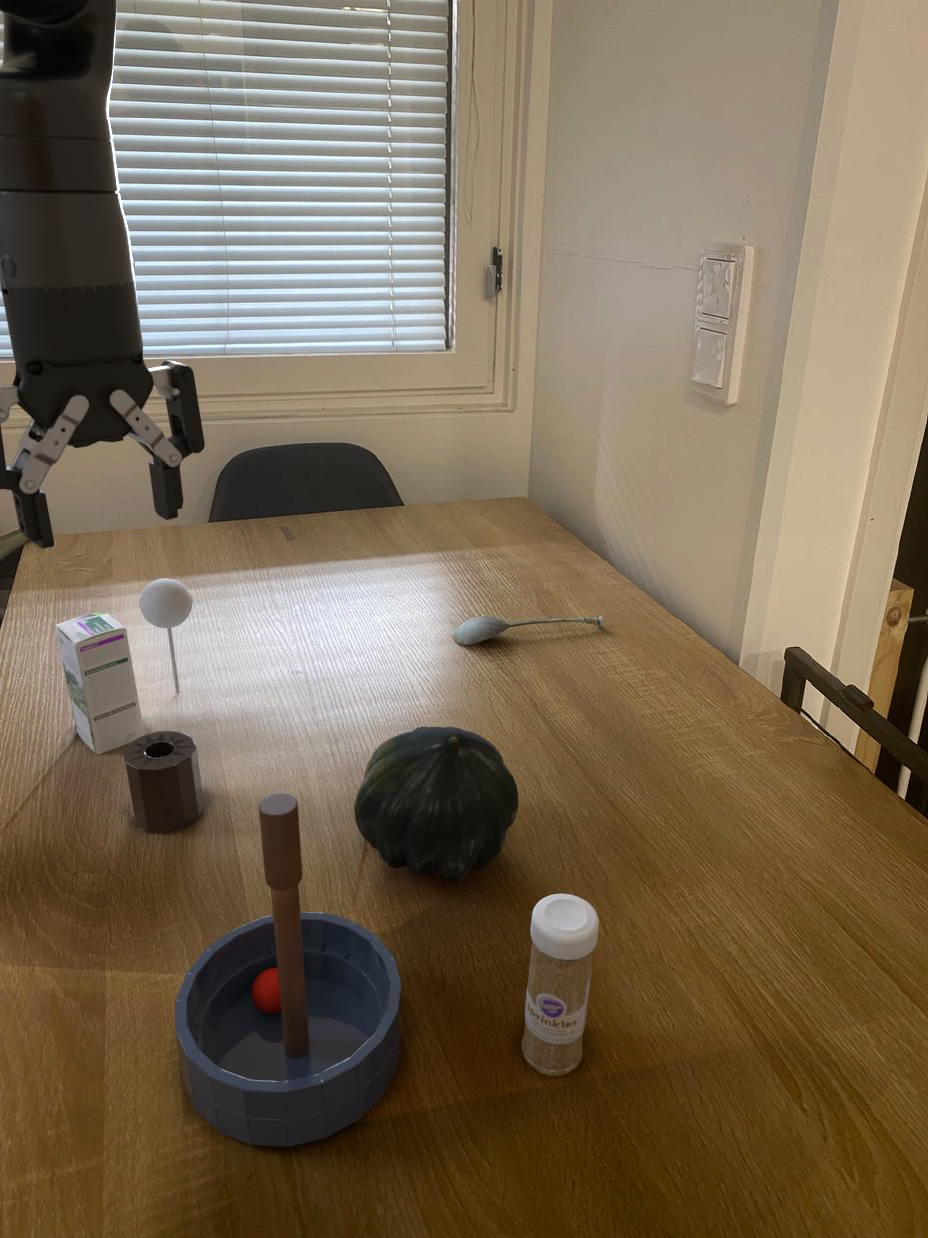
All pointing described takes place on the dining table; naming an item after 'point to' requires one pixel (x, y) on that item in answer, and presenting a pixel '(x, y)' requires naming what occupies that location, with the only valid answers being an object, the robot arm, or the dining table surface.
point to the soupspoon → (502, 627)
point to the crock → (163, 781)
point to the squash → (437, 802)
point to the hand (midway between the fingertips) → (107, 530)
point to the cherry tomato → (267, 991)
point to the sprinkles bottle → (558, 982)
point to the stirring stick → (286, 912)
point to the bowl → (254, 1043)
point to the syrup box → (100, 681)
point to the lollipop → (166, 609)
